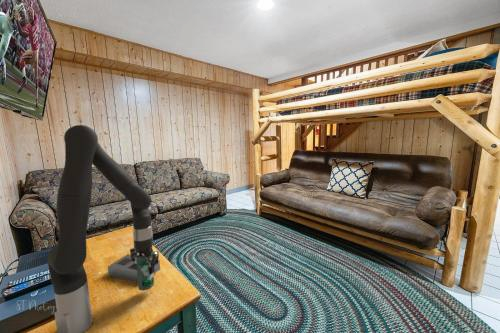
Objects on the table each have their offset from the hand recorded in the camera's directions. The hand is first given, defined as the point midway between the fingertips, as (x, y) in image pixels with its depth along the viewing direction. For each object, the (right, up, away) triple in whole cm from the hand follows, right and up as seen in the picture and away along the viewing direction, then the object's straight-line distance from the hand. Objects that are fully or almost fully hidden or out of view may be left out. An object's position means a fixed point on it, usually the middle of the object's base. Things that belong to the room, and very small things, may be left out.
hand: (145, 271), depth 94 cm
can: (0, -7, +1) cm, 7 cm away
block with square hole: (-14, -9, +17) cm, 23 cm away
